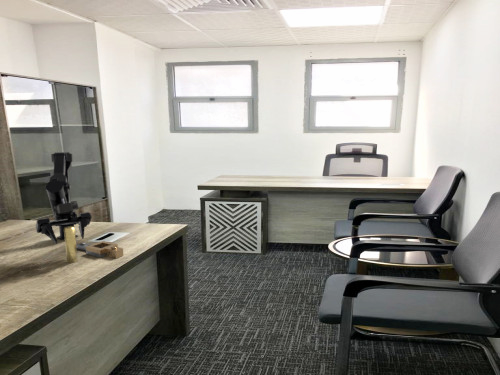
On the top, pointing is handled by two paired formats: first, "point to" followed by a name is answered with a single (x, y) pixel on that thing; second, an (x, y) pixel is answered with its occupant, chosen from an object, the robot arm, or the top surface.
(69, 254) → the brass pin
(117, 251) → the square frame with handle
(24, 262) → the top surface
